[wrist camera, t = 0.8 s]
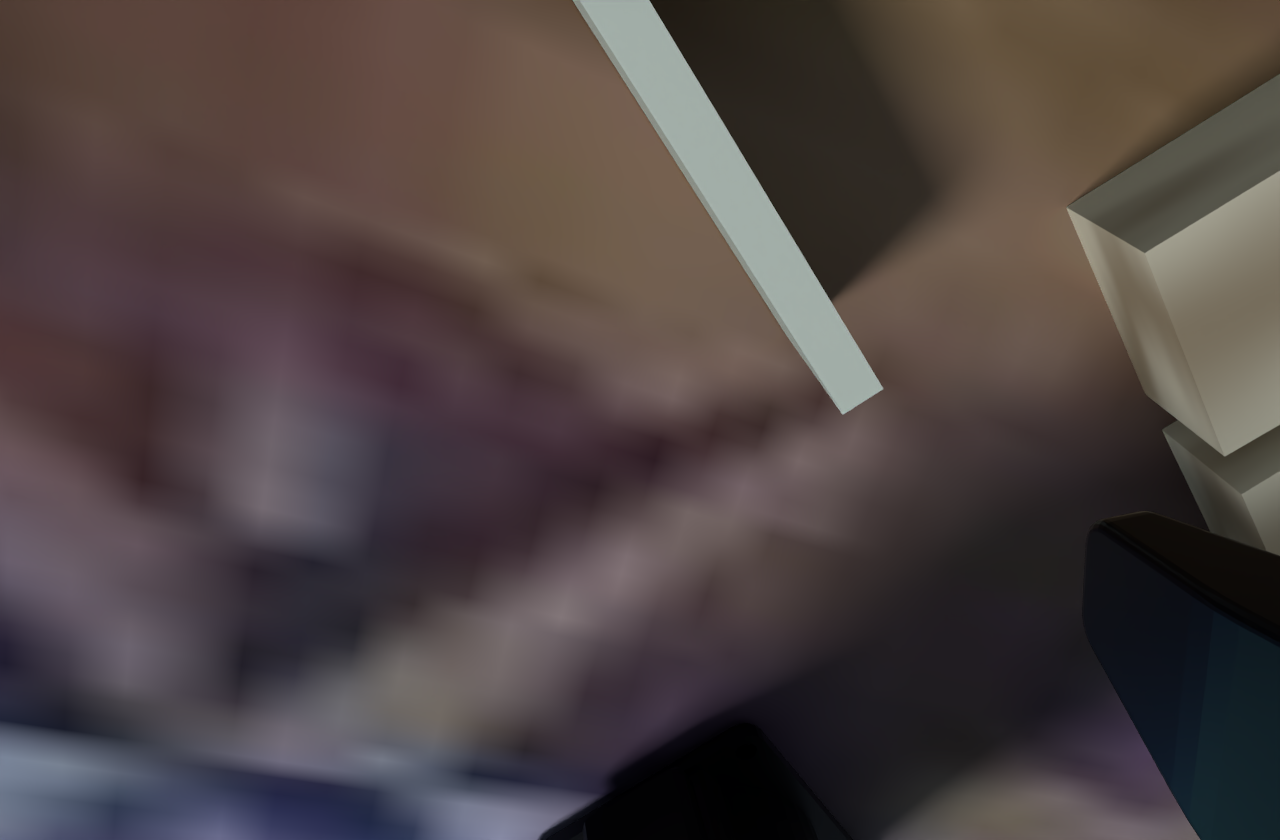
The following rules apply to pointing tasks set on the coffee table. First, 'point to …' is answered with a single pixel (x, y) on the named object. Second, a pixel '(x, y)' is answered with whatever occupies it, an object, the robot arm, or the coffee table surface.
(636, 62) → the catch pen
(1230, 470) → the tile
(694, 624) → the coffee table surface
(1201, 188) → the tile
